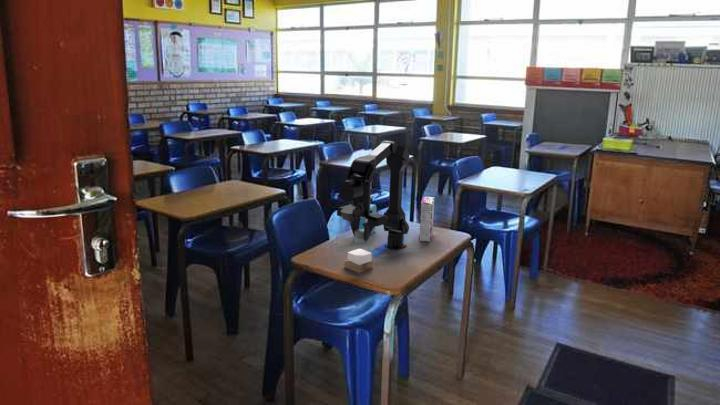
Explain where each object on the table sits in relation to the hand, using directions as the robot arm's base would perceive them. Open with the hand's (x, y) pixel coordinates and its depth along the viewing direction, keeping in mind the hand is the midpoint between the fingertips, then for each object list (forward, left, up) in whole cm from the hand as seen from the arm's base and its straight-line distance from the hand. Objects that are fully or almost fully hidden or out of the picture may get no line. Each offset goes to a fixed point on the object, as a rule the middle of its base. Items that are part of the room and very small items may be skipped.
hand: (360, 239), depth 186 cm
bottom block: (0, 0, -11) cm, 11 cm away
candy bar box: (-45, -3, -11) cm, 46 cm away
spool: (0, 0, -1) cm, 1 cm away
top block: (0, 0, -8) cm, 8 cm away
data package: (-30, -24, -11) cm, 40 cm away
